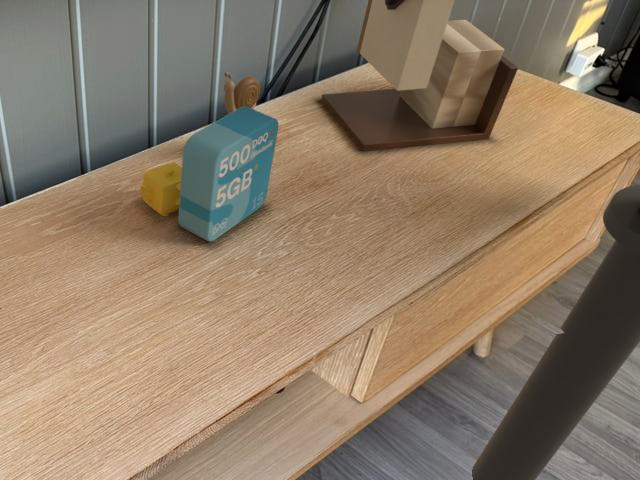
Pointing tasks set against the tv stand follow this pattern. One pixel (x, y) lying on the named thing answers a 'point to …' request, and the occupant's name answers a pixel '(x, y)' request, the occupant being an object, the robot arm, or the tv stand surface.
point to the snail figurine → (241, 93)
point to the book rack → (433, 97)
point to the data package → (226, 172)
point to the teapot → (162, 188)
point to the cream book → (404, 40)
